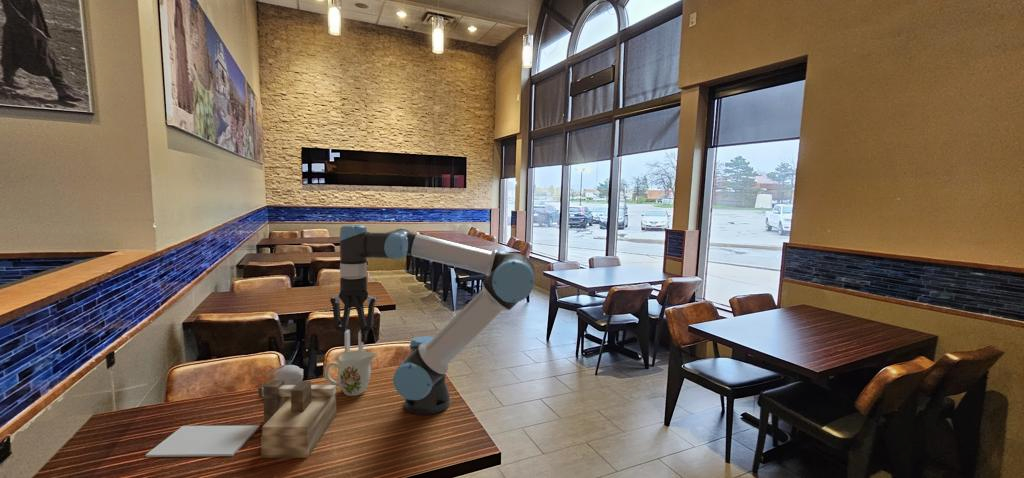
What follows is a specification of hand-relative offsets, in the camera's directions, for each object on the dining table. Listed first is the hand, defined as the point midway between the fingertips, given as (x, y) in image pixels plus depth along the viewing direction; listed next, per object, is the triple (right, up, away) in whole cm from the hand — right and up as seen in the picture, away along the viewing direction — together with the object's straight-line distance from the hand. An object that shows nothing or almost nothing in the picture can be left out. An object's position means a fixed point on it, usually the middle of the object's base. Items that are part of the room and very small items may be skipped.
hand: (354, 351), depth 130 cm
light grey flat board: (-38, -23, -10) cm, 45 cm away
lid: (-13, -17, -6) cm, 22 cm away
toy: (-33, -19, +23) cm, 45 cm away
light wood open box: (-17, -23, -6) cm, 29 cm away
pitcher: (-9, -20, +22) cm, 31 cm away
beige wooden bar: (-17, -14, 0) cm, 22 cm away
